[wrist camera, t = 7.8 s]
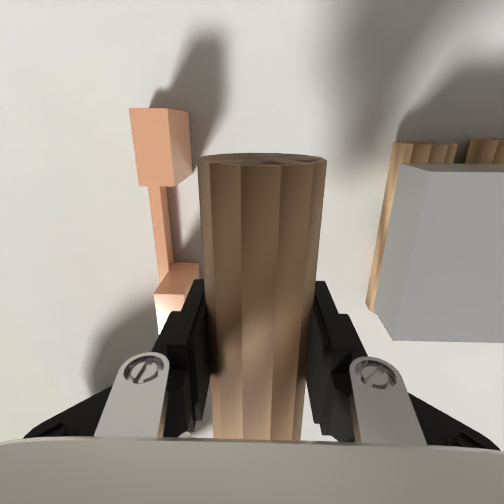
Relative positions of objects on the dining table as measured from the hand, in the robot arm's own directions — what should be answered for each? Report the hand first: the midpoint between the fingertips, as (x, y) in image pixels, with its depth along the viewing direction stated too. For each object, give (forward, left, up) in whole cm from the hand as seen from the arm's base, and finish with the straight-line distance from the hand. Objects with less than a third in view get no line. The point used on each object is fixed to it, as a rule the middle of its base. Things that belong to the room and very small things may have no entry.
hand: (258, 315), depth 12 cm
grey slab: (0, +15, -9) cm, 17 cm away
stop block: (0, -6, -12) cm, 13 cm away
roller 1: (0, 0, +1) cm, 1 cm away
